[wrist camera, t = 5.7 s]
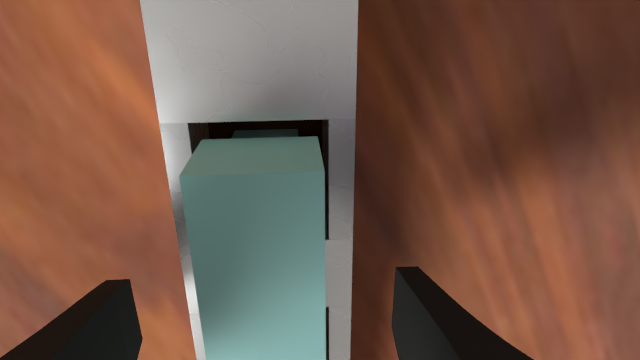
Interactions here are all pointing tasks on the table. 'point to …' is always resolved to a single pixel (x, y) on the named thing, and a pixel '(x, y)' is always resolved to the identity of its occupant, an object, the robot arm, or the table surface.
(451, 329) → the robot arm
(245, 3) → the rail
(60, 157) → the table surface
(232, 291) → the teal block
